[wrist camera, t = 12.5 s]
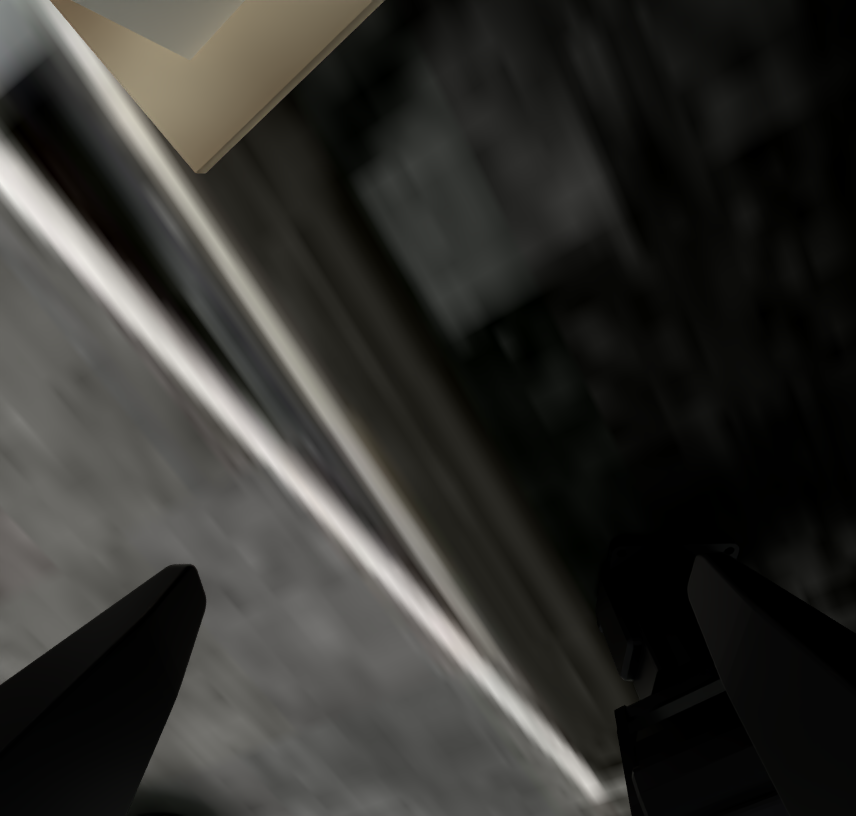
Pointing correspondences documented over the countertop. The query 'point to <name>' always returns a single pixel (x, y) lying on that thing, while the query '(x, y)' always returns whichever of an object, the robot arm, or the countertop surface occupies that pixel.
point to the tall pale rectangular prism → (168, 20)
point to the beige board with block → (220, 67)
